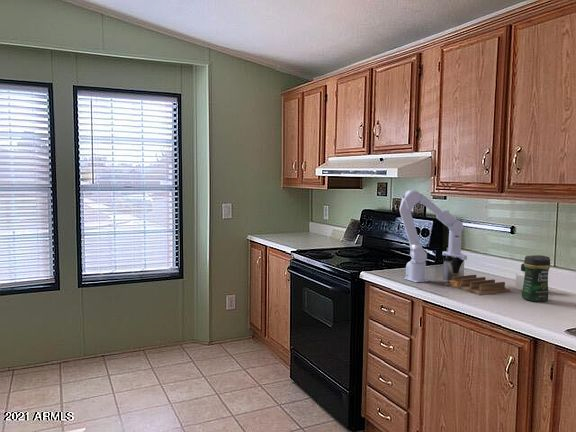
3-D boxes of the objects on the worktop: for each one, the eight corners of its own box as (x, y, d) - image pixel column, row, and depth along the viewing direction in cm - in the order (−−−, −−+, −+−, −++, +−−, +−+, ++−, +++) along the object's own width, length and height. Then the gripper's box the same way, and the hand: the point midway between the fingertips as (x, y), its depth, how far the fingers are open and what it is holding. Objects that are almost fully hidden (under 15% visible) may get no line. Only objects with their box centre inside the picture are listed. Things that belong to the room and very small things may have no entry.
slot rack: (446, 285, 226) (446, 276, 226) (476, 282, 233) (476, 274, 233) (479, 294, 208) (479, 285, 208) (509, 291, 215) (510, 282, 215)
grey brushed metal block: (443, 279, 234) (443, 261, 233) (459, 278, 238) (459, 260, 237) (447, 280, 231) (448, 262, 231) (463, 279, 235) (464, 261, 235)
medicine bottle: (526, 292, 214) (527, 265, 213) (514, 288, 220) (516, 262, 219) (539, 291, 215) (541, 264, 214) (528, 287, 222) (529, 262, 221)
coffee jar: (531, 302, 195) (534, 257, 194) (518, 298, 203) (520, 254, 202) (552, 301, 198) (554, 256, 196) (538, 297, 205) (540, 253, 204)
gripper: (472, 246, 228) (471, 274, 229) (450, 242, 242) (449, 269, 243) (460, 246, 226) (459, 275, 227) (439, 242, 239) (438, 270, 240)
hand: (453, 272), depth 234 cm, fingers closed on grey brushed metal block, 3 cm apart
